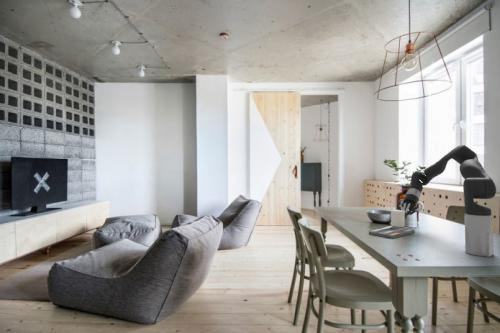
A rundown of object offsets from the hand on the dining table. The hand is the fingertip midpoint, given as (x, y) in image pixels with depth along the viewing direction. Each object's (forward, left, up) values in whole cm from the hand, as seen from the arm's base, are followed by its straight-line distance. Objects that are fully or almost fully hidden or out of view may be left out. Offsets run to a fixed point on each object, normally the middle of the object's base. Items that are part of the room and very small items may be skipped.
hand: (402, 218), depth 172 cm
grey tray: (0, +13, -7) cm, 15 cm away
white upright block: (0, +6, -5) cm, 8 cm away
